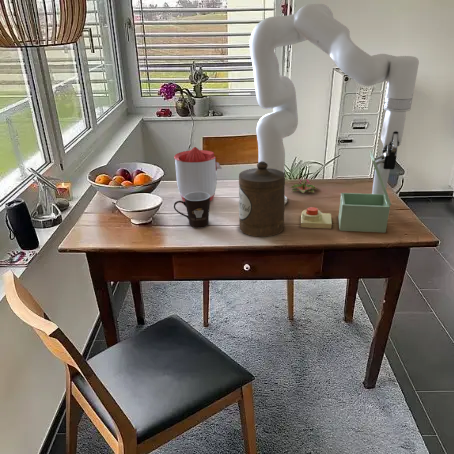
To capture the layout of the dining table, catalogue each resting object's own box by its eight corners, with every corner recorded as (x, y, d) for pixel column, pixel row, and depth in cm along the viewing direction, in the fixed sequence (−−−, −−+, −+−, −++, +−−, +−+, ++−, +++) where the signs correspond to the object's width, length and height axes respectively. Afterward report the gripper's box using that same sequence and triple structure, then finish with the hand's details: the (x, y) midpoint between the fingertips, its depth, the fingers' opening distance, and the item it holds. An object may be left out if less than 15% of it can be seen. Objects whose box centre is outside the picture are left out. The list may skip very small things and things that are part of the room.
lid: (372, 161, 142) (390, 153, 139) (368, 150, 151) (385, 143, 149) (389, 206, 148) (406, 199, 146) (384, 193, 158) (400, 186, 156)
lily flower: (319, 185, 192) (320, 174, 190) (317, 195, 182) (318, 184, 180) (289, 184, 195) (290, 173, 192) (286, 194, 185) (287, 182, 182)
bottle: (382, 202, 175) (394, 133, 162) (385, 208, 170) (397, 136, 157) (368, 202, 175) (378, 133, 162) (370, 207, 171) (381, 136, 158)
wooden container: (240, 219, 165) (239, 155, 153) (282, 219, 164) (285, 155, 152) (238, 237, 152) (237, 169, 140) (284, 237, 151) (287, 169, 139)
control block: (300, 227, 158) (301, 217, 156) (301, 216, 165) (302, 207, 163) (331, 228, 156) (332, 218, 154) (330, 218, 164) (331, 208, 162)
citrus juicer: (225, 205, 176) (224, 151, 165) (178, 208, 174) (174, 154, 163) (219, 191, 189) (218, 140, 179) (176, 194, 187) (172, 142, 177)
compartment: (339, 230, 155) (342, 205, 150) (338, 217, 164) (341, 192, 160) (385, 232, 153) (390, 206, 148) (381, 218, 162) (385, 194, 158)
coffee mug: (215, 220, 164) (213, 193, 159) (206, 230, 157) (204, 202, 152) (184, 217, 167) (182, 190, 162) (174, 226, 160) (171, 198, 155)
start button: (306, 215, 158) (306, 210, 157) (306, 211, 161) (307, 206, 160) (317, 216, 158) (317, 211, 157) (317, 212, 161) (317, 207, 160)
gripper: (381, 98, 145) (372, 157, 155) (387, 109, 131) (377, 174, 141) (406, 98, 144) (396, 158, 154) (416, 110, 130) (404, 174, 139)
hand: (387, 165), depth 147 cm, fingers closed on lid, 5 cm apart
